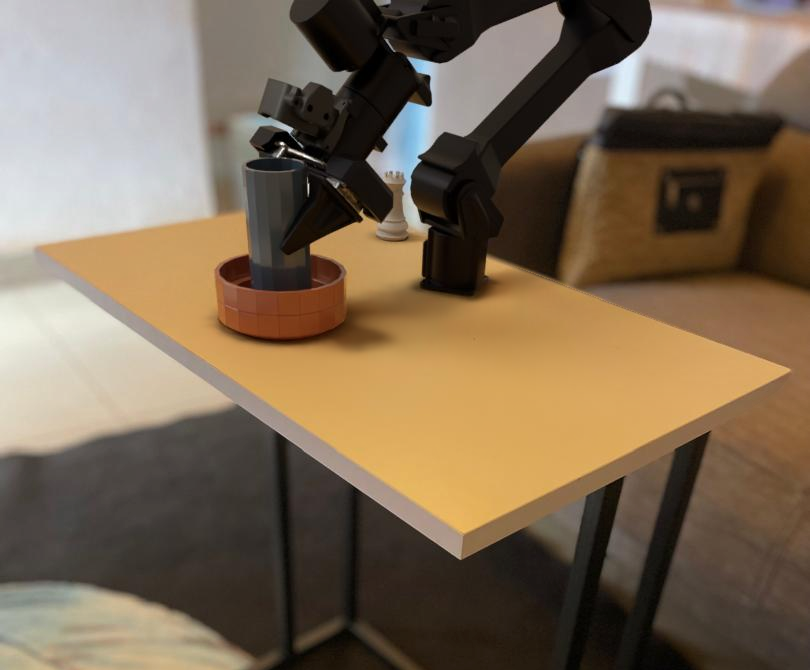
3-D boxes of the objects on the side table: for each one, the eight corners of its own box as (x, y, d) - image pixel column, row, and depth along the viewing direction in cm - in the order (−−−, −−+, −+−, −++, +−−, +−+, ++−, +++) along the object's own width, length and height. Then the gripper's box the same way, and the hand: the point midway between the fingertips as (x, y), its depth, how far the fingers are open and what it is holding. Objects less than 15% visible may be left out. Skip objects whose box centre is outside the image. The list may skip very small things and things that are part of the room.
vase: (285, 295, 89) (277, 154, 81) (324, 310, 86) (320, 165, 78) (241, 309, 86) (228, 163, 77) (281, 326, 83) (271, 175, 74)
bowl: (366, 310, 90) (367, 263, 87) (308, 353, 80) (307, 301, 77) (260, 289, 93) (258, 243, 90) (193, 328, 83) (187, 278, 81)
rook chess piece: (368, 236, 112) (369, 172, 107) (388, 229, 115) (390, 167, 110) (396, 243, 110) (398, 178, 105) (415, 236, 113) (418, 173, 108)
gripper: (261, 32, 80) (166, 166, 81) (367, 55, 68) (254, 212, 69) (332, 117, 89) (246, 237, 90) (439, 151, 76) (337, 290, 78)
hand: (267, 243), depth 81 cm, fingers closed on vase, 6 cm apart
